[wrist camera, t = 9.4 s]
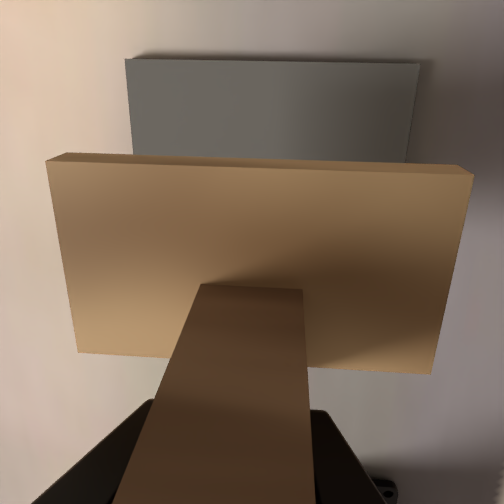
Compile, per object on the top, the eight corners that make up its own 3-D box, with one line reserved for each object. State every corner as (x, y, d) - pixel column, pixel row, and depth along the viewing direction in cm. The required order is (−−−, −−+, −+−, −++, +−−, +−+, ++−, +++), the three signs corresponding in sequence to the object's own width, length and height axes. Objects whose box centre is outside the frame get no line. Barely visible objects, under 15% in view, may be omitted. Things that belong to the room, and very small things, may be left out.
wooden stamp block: (418, 356, 12) (719, 1033, 4) (94, 337, 12) (-292, 879, 4) (456, 165, 10) (1389, 717, 1) (67, 152, 10) (-818, 500, 2)
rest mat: (371, 352, 20) (374, 360, 19) (154, 339, 20) (151, 347, 20) (415, 63, 15) (420, 63, 14) (130, 59, 16) (124, 58, 15)
